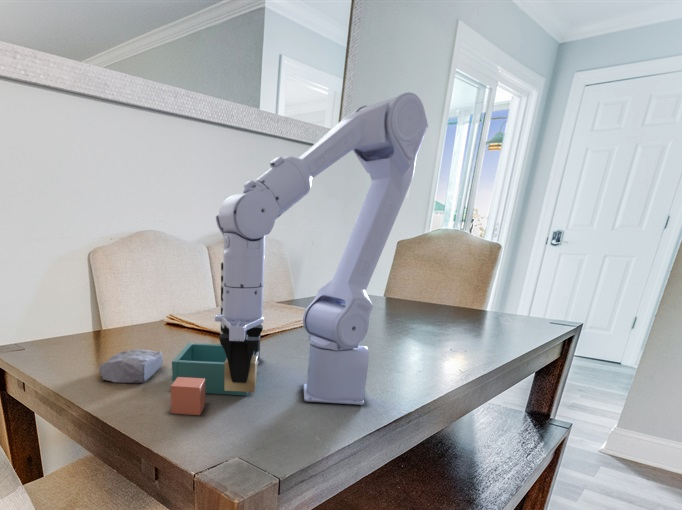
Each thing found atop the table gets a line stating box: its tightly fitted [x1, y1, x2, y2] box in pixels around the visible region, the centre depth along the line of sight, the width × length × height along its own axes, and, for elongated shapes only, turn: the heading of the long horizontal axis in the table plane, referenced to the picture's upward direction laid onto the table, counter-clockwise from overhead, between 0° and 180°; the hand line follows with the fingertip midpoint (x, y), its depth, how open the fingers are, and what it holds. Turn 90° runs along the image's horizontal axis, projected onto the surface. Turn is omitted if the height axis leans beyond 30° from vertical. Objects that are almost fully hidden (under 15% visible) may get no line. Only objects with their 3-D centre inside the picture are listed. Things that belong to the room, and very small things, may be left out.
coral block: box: [170, 377, 206, 416], centre depth 72 cm, size 4×4×4 cm
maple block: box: [225, 355, 258, 393], centre depth 70 cm, size 4×4×4 cm
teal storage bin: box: [171, 342, 249, 397], centre depth 84 cm, size 13×13×5 cm
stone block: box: [98, 348, 164, 384], centre depth 89 cm, size 12×5×10 cm
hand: (241, 376), depth 70 cm, fingers closed on maple block, 4 cm apart
